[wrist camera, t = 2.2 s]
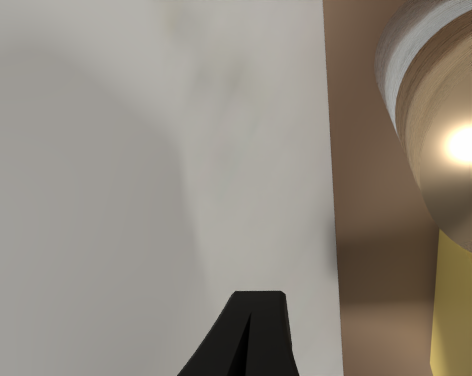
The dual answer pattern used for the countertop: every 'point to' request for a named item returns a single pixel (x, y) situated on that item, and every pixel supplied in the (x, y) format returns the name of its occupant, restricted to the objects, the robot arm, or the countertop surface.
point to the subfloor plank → (375, 207)
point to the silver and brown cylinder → (433, 104)
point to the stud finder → (452, 311)
